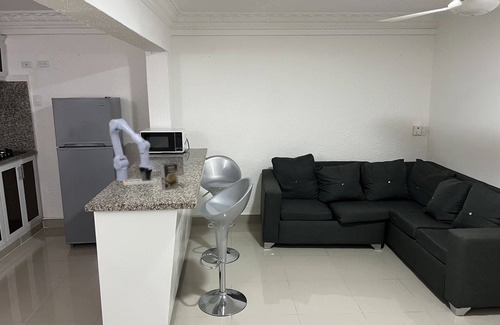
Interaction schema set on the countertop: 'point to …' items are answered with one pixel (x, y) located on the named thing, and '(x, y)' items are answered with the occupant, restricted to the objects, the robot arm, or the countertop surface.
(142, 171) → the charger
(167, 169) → the coffee box
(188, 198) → the countertop surface
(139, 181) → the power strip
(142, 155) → the robot arm
